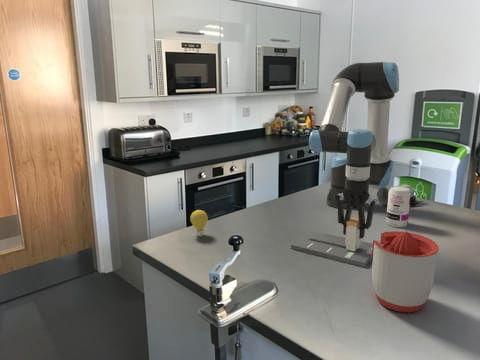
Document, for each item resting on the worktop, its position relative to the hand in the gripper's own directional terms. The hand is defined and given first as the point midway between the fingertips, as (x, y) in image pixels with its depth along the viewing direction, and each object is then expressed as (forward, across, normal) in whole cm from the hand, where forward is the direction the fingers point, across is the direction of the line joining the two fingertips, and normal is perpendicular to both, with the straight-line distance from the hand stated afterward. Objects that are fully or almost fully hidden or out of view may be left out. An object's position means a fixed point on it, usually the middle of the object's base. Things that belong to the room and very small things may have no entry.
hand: (353, 244), depth 134 cm
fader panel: (+3, -6, 0) cm, 7 cm away
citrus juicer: (+3, +20, -22) cm, 30 cm away
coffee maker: (-1, -5, +57) cm, 57 cm away
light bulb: (+3, -54, -16) cm, 57 cm away
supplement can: (+3, +6, +36) cm, 37 cm away
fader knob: (+1, 0, 0) cm, 1 cm away
